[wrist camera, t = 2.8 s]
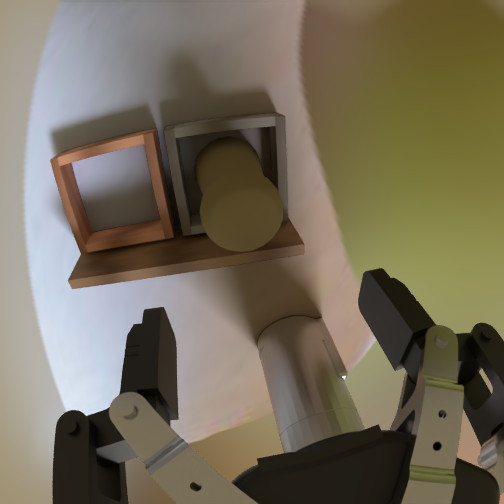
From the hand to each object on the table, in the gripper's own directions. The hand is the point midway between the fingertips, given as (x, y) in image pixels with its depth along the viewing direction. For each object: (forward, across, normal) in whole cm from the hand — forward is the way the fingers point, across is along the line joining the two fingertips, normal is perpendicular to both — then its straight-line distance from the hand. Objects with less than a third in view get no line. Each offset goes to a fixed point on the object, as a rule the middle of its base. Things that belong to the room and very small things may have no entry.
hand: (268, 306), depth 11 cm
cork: (+18, 0, 0) cm, 18 cm away
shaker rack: (+18, +5, 0) cm, 19 cm away
